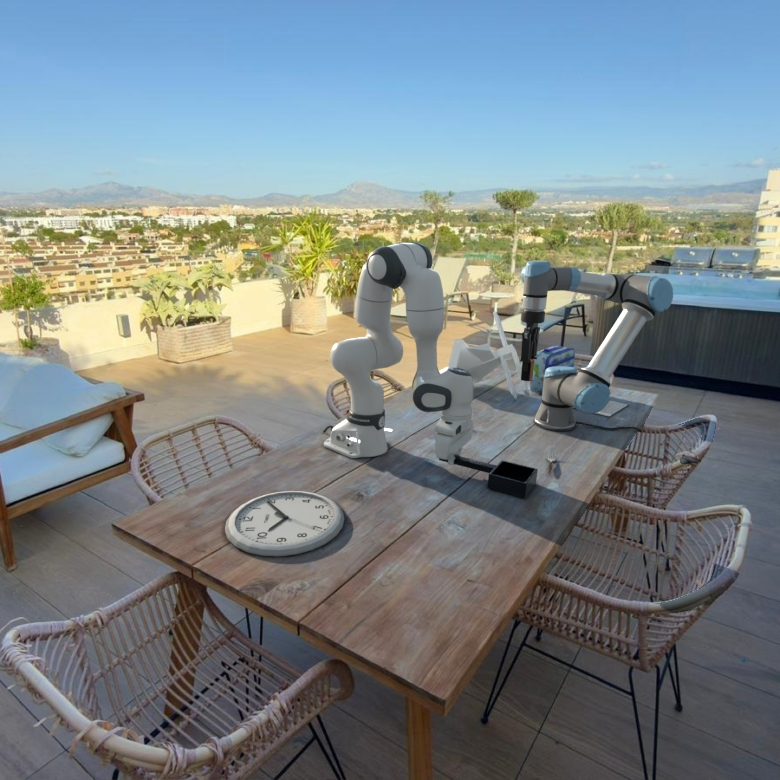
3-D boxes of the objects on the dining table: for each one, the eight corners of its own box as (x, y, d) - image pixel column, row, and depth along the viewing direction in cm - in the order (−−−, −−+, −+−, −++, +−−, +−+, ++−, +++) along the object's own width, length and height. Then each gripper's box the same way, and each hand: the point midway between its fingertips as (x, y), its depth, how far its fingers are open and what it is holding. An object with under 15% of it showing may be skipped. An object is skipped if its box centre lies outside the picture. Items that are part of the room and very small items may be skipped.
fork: (544, 474, 162) (545, 469, 162) (548, 455, 177) (548, 449, 176) (553, 476, 161) (554, 470, 161) (556, 456, 176) (557, 450, 175)
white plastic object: (461, 429, 252) (437, 405, 227) (444, 352, 274) (420, 323, 250) (535, 404, 240) (518, 377, 215) (510, 326, 262) (492, 293, 237)
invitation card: (608, 416, 214) (573, 407, 224) (608, 416, 214) (573, 408, 224) (628, 404, 229) (594, 396, 238) (628, 405, 229) (594, 397, 238)
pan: (536, 482, 157) (537, 468, 156) (525, 498, 148) (526, 483, 146) (447, 460, 171) (448, 447, 170) (432, 472, 162) (433, 459, 160)
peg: (523, 378, 179) (525, 358, 177) (532, 379, 177) (534, 359, 175) (520, 380, 176) (522, 360, 174) (530, 381, 175) (532, 361, 173)
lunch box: (546, 399, 235) (551, 353, 228) (525, 393, 242) (530, 349, 236) (574, 387, 252) (579, 345, 246) (553, 383, 260) (558, 341, 253)
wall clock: (344, 547, 121) (211, 552, 118) (344, 554, 121) (212, 558, 119) (344, 486, 149) (237, 489, 147) (344, 491, 150) (237, 494, 147)
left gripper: (460, 409, 169) (458, 448, 173) (432, 428, 152) (430, 471, 157) (478, 412, 166) (475, 452, 170) (452, 433, 149) (449, 476, 154)
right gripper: (528, 305, 178) (522, 372, 185) (514, 311, 165) (508, 383, 172) (551, 307, 175) (543, 375, 182) (538, 314, 161) (531, 386, 168)
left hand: (453, 461), depth 163 cm, fingers closed on pan, 2 cm apart
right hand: (526, 379), depth 177 cm, fingers closed on peg, 3 cm apart
